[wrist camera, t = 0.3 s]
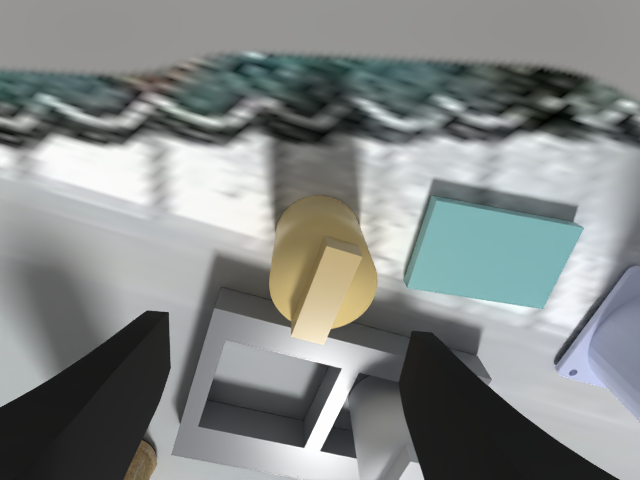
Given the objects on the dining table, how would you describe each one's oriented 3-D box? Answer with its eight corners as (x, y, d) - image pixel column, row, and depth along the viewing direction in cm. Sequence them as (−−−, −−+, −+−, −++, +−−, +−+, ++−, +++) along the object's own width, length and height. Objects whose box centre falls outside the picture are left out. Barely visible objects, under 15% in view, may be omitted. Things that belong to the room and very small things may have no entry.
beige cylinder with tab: (373, 210, 20) (400, 265, 15) (342, 282, 22) (357, 355, 16) (290, 184, 19) (287, 231, 14) (265, 260, 21) (253, 329, 16)
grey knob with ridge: (428, 381, 25) (464, 470, 20) (399, 429, 27) (425, 524, 21) (363, 365, 24) (382, 454, 19) (338, 416, 26) (349, 510, 20)
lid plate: (574, 222, 21) (584, 227, 20) (535, 301, 23) (542, 309, 22) (431, 195, 20) (436, 200, 19) (403, 280, 22) (407, 287, 21)
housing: (477, 355, 24) (491, 379, 23) (403, 471, 28) (411, 499, 27) (221, 287, 21) (214, 307, 20) (180, 426, 26) (171, 455, 24)
